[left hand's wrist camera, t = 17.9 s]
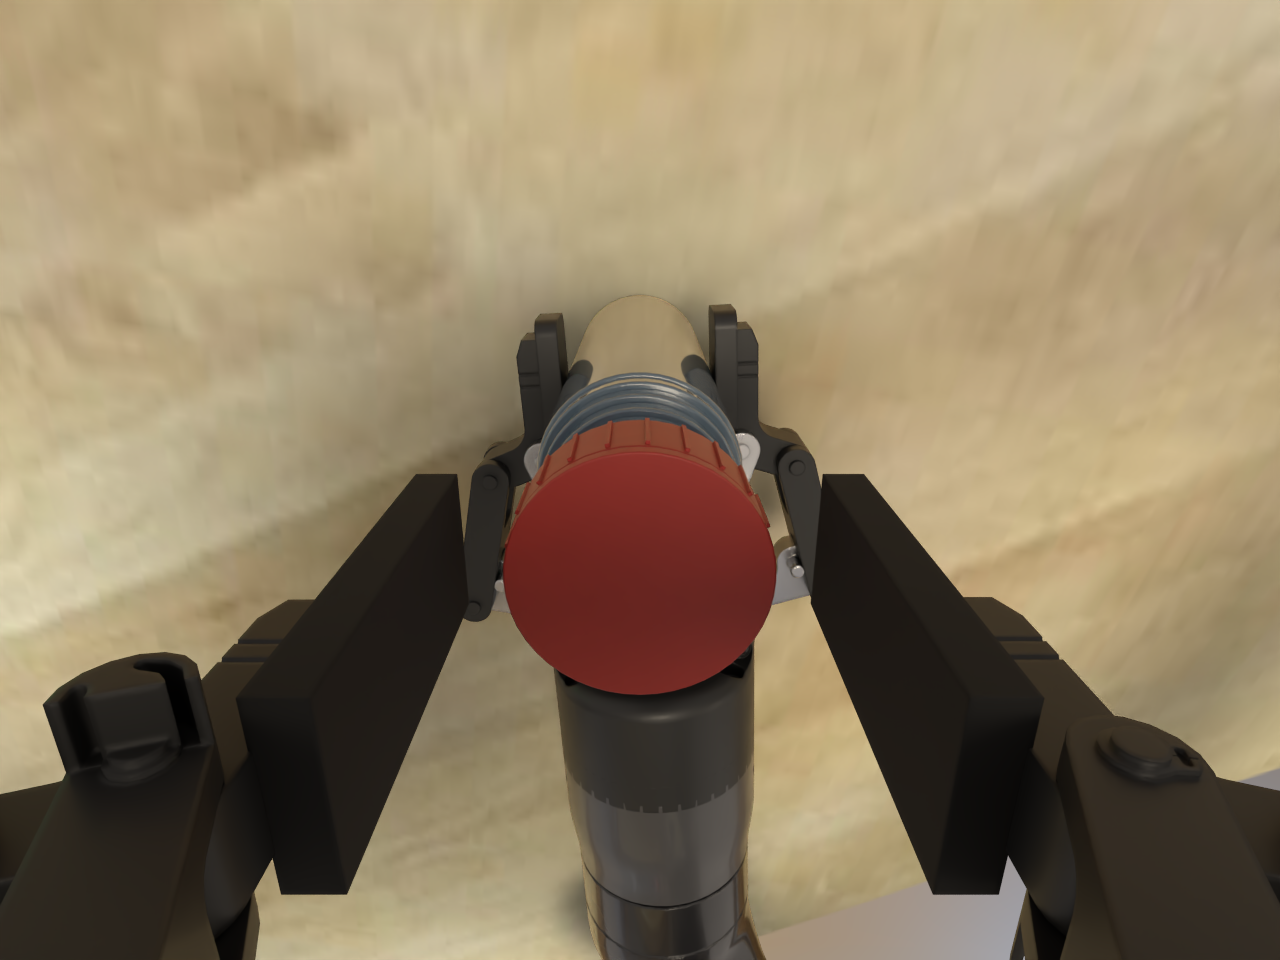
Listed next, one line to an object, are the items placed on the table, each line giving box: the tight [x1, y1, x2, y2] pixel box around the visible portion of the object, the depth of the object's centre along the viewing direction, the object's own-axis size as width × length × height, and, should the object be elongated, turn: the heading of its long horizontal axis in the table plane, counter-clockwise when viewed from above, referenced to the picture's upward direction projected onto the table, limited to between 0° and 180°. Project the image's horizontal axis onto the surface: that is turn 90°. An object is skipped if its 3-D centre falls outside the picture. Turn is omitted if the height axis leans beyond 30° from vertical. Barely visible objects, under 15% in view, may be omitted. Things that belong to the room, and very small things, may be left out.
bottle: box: [537, 295, 742, 471], centre depth 22 cm, size 5×5×19 cm
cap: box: [503, 418, 776, 695], centre depth 13 cm, size 5×5×2 cm
